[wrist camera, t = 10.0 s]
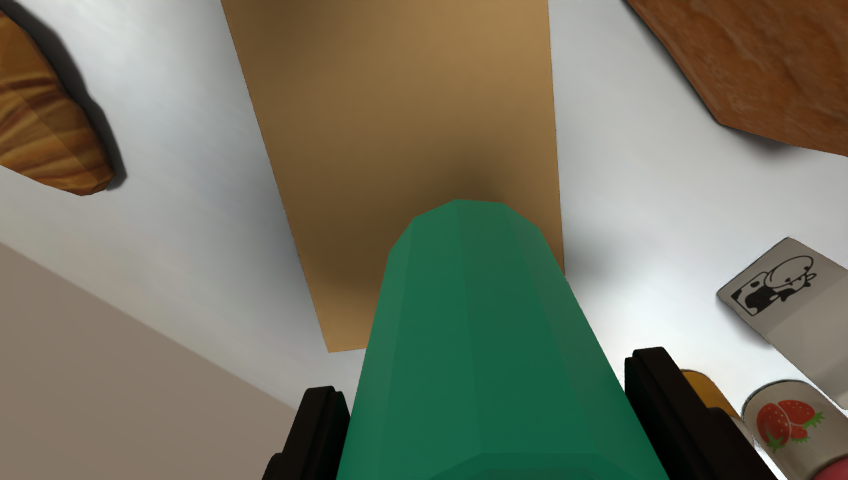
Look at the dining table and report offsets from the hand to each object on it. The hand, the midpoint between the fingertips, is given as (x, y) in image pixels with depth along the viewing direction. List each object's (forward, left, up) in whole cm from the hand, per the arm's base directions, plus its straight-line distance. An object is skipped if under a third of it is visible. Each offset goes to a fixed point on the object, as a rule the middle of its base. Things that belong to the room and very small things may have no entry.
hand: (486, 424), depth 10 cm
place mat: (-2, -2, -15) cm, 15 cm away
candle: (0, 0, -7) cm, 7 cm away
